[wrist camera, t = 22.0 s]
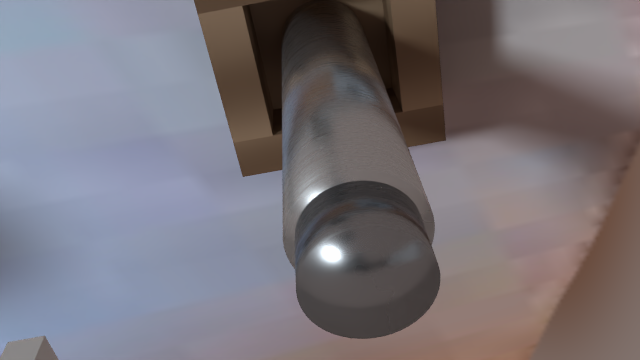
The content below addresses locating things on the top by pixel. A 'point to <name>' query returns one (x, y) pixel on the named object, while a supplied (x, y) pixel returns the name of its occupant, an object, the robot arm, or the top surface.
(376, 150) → the peg
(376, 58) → the brown square frame
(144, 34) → the top surface
